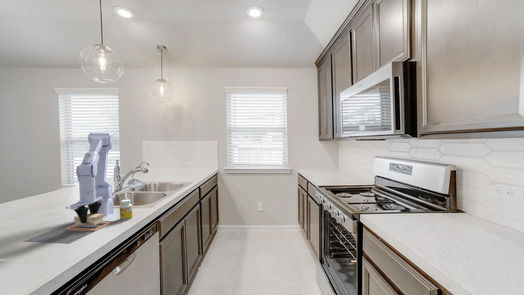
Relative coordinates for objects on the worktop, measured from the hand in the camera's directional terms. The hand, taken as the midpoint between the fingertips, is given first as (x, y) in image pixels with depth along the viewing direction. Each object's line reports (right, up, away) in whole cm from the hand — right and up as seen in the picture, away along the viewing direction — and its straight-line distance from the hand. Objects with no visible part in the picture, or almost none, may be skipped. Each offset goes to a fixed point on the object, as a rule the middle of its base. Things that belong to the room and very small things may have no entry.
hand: (88, 220), depth 103 cm
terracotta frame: (0, -3, 0) cm, 3 cm away
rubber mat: (-3, -3, -4) cm, 6 cm away
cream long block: (0, -1, 0) cm, 1 cm away
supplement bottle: (+10, -3, +11) cm, 15 cm away
